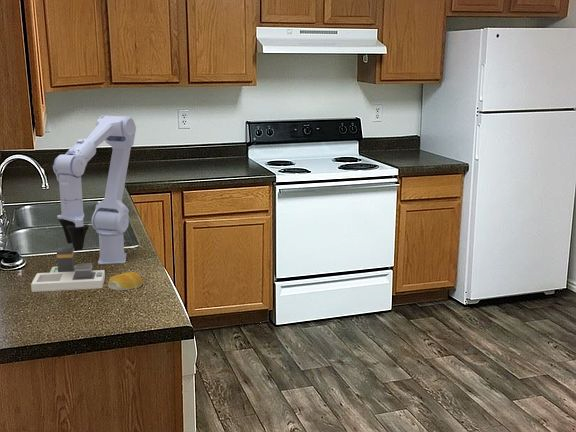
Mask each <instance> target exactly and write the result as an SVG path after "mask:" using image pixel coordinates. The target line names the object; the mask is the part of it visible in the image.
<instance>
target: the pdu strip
mask: <svg viewBox="0 0 576 432" xmlns="http://www.w3.org/2000/svg"><path fill="white" fill-rule="evenodd" d="M75 266H76V267H75V271H74V272H53V273H50V272H40V273H39V272H37V273H36V275H35V276H34V277H33V279H32V282H31V284H30V288H31V293H35V292H36V293H37V292H55V291H58V292H59V291H75V290H93V289H94V290H95V289H103V287H104V282H105V278H106V276H105V275H106V273H105V269H100V270H99V269H97V270H93V263H92V262H86V263H85V262H84V263H76V265H75Z"/></svg>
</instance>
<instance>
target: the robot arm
mask: <svg viewBox="0 0 576 432" xmlns="http://www.w3.org/2000/svg"><path fill="white" fill-rule="evenodd" d="M136 131H137V126H136V123H135V121H134V119H133V117H132V116H129V115H128V116H123V115H122V116H119V115H105V114H102V115H100V116H99V118H98V119H96V124H95V127H94V128H93V130H92V131H91V132H90V134H89V135H87V138H79V139H77V140H76V143H75V144H73V146H71V148H70V149H68V150H67V151H66V153H65V154H63V153H62V154H59V155H58V156H57V157H55V158H54V162H53V165H52V169H53V173H54V174H55V177H56V180H57V182H58V186H59V199H60V209H61V210H60V211H61V214H58V215H56V216H57V217H56V218H57V219H58V220H57V221H58V222H59V223H60V225H61V228H62V229H63V233H64V235H65V240H66V242H67V244H72V247H73V250H74V251H75V252H76V251H82V250H83V249H84V246H85V244H84V243H85V237H86V235H87V232H88V230H89V226H90V225H89V224H84V218H85V213H84V204H83V203H84V201H83V189H82V188H83V186H82V175H84V173H85V171H86V167H87V165H88V162H90V160H91V159H92V158H93V157H94V156H95V155H96V153H97V147H98V146H100V145H101V144H102V143H103V142H105V143H106V144H107V145H109V146H111V149H112V150H111V151H112V153H111V157H110V163H109V170H108V175H107V180H106V186H105V193H104V199H103V200H101V201H100V202H99V203H97V204H95V209H94V211H93V213H92V216H91V225H92V228H93V229H94V230H96V234H98V243H99V246H98V247H99V258H98V261H97V265H106V264H107V265H110V264H125V263H126V262H127V261H126V260H127V253H126V252H125V243H124V241H125V240H124V233H125V232H126V231H127V229H128V227H129V224H130V217H129V212H130V210H129V207H127V206H126V205H125V203H123V196H124V191H125V184H126V178H127V173H128V167H129V161H130V155H131V149H132V147H133V146H134V143H135V137H136Z"/></svg>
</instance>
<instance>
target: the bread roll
mask: <svg viewBox="0 0 576 432" xmlns="http://www.w3.org/2000/svg"><path fill="white" fill-rule="evenodd" d="M107 286H108V289H111V290H114V291H119V292H121V291H122V292H123V291H129V290H133V289H139V288H141V287H142V286H143V278H142V277H141V275H140V274H139V273H137V272H135V271H134V272H133V271H128V272H123V273H119V274H115V275H112V276H111V277H110V278H109V279H108V282H107Z"/></svg>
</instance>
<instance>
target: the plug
mask: <svg viewBox="0 0 576 432" xmlns="http://www.w3.org/2000/svg"><path fill="white" fill-rule="evenodd" d="M74 251H75V250H74V248H73V246H71V247H69V246H67V247H58V249H57V250H56V261H57V262H56V263H57V266H58V272H74V271H75V266H76V265H75V255H74V254H75V252H74Z"/></svg>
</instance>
